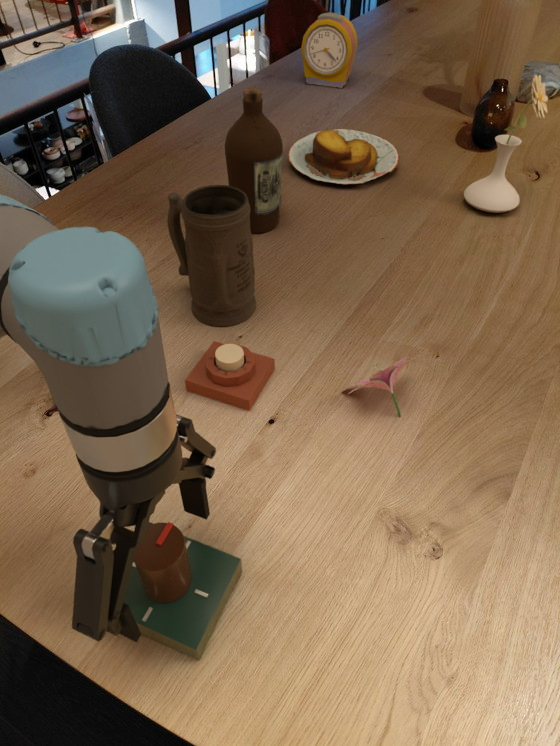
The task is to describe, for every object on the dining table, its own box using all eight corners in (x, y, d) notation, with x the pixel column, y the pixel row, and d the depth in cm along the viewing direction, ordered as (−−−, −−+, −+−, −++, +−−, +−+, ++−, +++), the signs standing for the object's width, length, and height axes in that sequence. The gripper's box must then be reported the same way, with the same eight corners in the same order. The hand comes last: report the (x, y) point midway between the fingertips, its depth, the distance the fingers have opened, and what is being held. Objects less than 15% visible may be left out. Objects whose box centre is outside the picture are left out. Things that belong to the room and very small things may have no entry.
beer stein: (270, 298, 97) (262, 186, 83) (241, 335, 90) (226, 220, 76) (193, 280, 102) (173, 172, 88) (160, 314, 95) (133, 203, 81)
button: (210, 367, 80) (209, 358, 79) (223, 349, 82) (222, 340, 81) (236, 375, 79) (236, 366, 77) (248, 357, 81) (248, 348, 80)
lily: (423, 381, 85) (406, 324, 81) (450, 417, 74) (431, 352, 70) (347, 409, 86) (327, 353, 82) (362, 447, 75) (340, 385, 71)
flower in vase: (493, 223, 115) (533, 93, 97) (450, 201, 121) (481, 75, 104) (533, 205, 120) (578, 79, 103) (490, 184, 127) (525, 62, 109)
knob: (177, 610, 56) (167, 577, 51) (133, 592, 57) (120, 558, 52) (200, 566, 60) (193, 530, 54) (158, 549, 61) (148, 513, 56)
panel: (96, 613, 59) (89, 600, 57) (148, 533, 66) (143, 518, 63) (199, 661, 56) (195, 649, 54) (242, 571, 62) (241, 557, 60)
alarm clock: (299, 84, 171) (301, 14, 158) (307, 75, 177) (310, 7, 164) (347, 90, 168) (354, 19, 155) (354, 81, 174) (360, 12, 161)
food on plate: (417, 164, 134) (423, 136, 129) (350, 202, 121) (354, 172, 116) (335, 132, 146) (337, 106, 141) (266, 163, 133) (266, 135, 129)
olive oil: (218, 221, 115) (208, 90, 97) (256, 203, 120) (253, 75, 102) (254, 241, 109) (251, 107, 92) (292, 221, 115) (296, 91, 97)
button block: (186, 390, 81) (183, 371, 79) (214, 351, 87) (212, 331, 85) (249, 411, 79) (248, 391, 76) (274, 369, 85) (274, 349, 82)
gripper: (168, 321, 51) (191, 461, 66) (-42, 563, 35) (53, 677, 50) (244, 343, 49) (250, 483, 64) (59, 611, 33) (126, 714, 48)
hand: (164, 568), depth 57 cm, fingers open, 13 cm apart
